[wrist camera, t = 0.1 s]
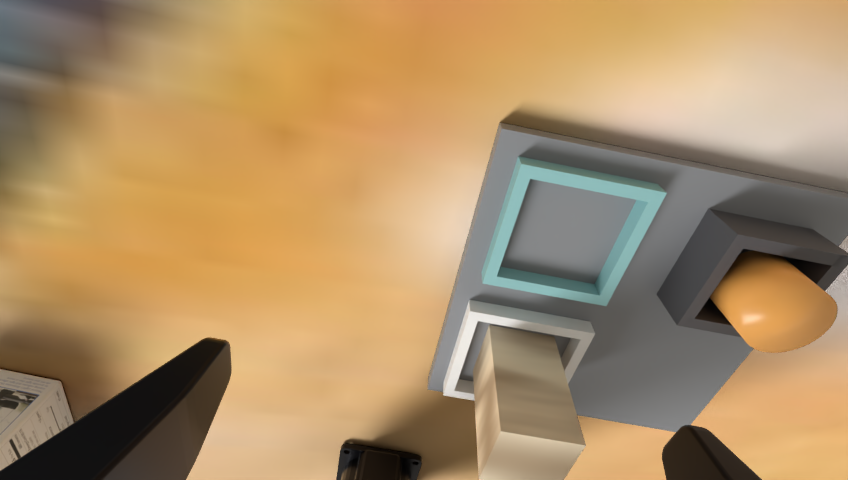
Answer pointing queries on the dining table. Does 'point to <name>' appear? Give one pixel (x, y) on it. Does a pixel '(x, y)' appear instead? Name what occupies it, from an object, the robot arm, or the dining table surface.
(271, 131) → the dining table surface
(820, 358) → the dining table surface
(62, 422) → the light bulb box
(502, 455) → the block
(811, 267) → the grey shape sorting board
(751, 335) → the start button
